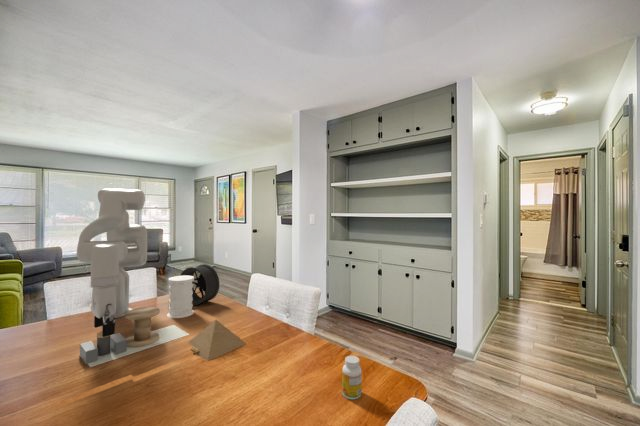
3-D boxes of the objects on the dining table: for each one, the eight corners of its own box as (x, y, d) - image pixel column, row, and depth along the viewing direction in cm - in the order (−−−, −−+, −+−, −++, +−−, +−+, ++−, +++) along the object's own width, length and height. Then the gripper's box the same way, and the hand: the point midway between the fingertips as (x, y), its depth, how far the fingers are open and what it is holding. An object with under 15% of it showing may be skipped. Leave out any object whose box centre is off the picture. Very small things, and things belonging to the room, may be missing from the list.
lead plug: (94, 353, 95) (95, 332, 95) (108, 349, 98) (108, 329, 98) (98, 357, 92) (98, 336, 92) (112, 353, 95) (112, 332, 95)
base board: (79, 355, 96) (79, 352, 96) (173, 327, 120) (173, 324, 120) (90, 371, 87) (90, 367, 87) (189, 337, 111) (189, 334, 111)
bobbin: (119, 340, 104) (120, 312, 104) (152, 331, 113) (152, 305, 113) (130, 350, 97) (130, 320, 97) (164, 339, 106) (164, 311, 106)
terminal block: (79, 355, 93) (79, 343, 93) (118, 343, 102) (119, 332, 102) (85, 364, 88) (85, 351, 88) (126, 351, 97) (126, 339, 97)
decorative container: (186, 310, 141) (186, 274, 141) (199, 315, 134) (199, 277, 134) (162, 316, 132) (162, 278, 131) (174, 322, 125) (175, 282, 125)
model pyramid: (180, 348, 103) (180, 320, 103) (221, 332, 117) (222, 308, 117) (205, 363, 93) (205, 333, 93) (247, 344, 107) (248, 318, 107)
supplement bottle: (340, 388, 81) (341, 354, 81) (358, 387, 82) (359, 354, 82) (343, 400, 76) (344, 364, 76) (363, 399, 76) (364, 364, 76)
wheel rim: (219, 303, 152) (219, 266, 152) (206, 308, 144) (207, 269, 144) (191, 297, 160) (192, 262, 160) (177, 302, 152) (178, 265, 152)
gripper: (84, 277, 98) (83, 326, 98) (98, 288, 87) (97, 343, 87) (110, 274, 104) (109, 320, 104) (126, 283, 93) (125, 335, 93)
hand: (104, 330), depth 96 cm, fingers open, 9 cm apart
